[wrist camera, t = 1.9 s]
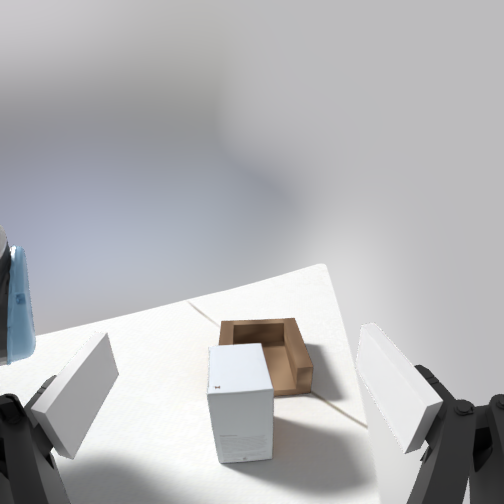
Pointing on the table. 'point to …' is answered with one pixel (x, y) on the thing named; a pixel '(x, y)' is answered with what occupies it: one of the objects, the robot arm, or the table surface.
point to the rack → (275, 351)
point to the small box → (240, 402)
